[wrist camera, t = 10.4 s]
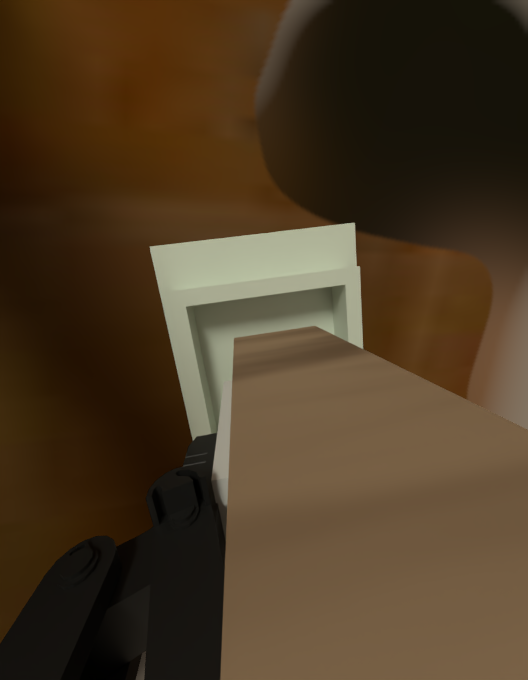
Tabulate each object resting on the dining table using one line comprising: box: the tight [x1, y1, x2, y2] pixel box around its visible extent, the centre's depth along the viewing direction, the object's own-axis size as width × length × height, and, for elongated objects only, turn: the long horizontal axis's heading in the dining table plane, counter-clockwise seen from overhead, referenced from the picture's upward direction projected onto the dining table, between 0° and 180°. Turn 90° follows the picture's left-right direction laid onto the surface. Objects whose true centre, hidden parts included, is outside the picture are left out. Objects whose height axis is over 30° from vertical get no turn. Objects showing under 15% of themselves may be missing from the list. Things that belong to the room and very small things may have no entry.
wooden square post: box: [220, 326, 528, 680], centre depth 9 cm, size 6×5×14 cm
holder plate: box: [150, 223, 363, 440], centre depth 18 cm, size 18×14×3 cm
